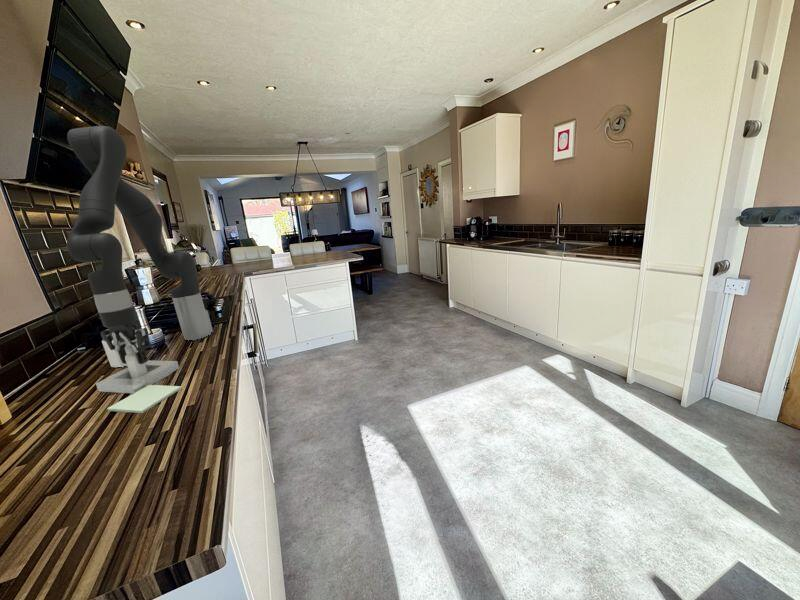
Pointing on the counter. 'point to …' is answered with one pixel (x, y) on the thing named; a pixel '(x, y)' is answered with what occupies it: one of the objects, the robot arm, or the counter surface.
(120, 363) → the jar
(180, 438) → the counter surface
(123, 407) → the sage mat
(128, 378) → the collar block
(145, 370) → the eye dropper bottle
